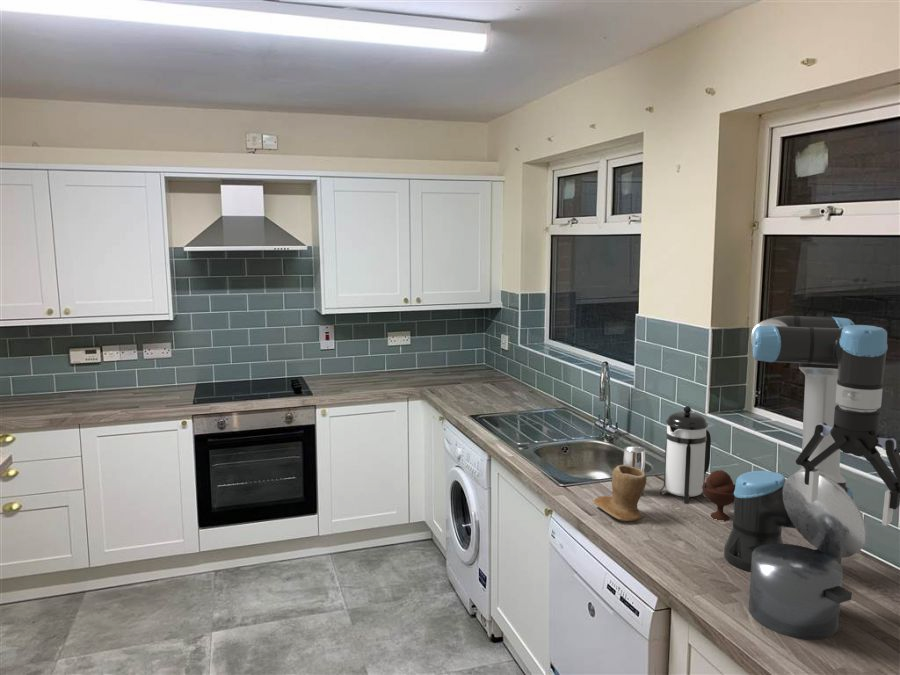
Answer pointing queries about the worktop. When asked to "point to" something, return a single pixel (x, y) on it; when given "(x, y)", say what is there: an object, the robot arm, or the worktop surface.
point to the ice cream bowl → (719, 492)
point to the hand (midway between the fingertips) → (848, 511)
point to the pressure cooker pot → (796, 590)
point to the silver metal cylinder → (634, 457)
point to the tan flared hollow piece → (624, 494)
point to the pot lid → (825, 516)
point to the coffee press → (686, 454)
